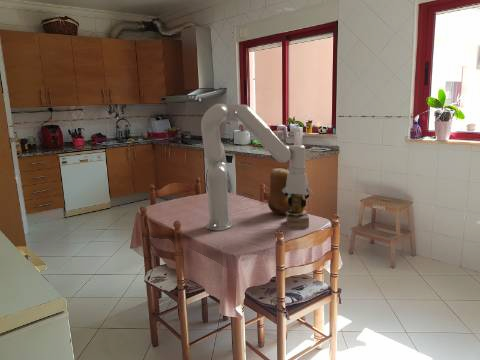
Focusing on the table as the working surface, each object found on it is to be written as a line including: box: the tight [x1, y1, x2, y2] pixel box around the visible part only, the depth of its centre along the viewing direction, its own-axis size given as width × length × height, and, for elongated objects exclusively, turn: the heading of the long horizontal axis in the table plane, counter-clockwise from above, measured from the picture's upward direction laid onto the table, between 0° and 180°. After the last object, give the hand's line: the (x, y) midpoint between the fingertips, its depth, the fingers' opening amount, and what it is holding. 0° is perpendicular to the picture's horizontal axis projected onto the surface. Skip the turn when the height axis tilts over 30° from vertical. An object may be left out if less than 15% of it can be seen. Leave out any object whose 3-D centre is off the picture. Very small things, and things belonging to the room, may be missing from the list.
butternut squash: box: [267, 168, 291, 216], centre depth 203 cm, size 14×13×25 cm
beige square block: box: [285, 212, 310, 229], centre depth 188 cm, size 10×10×5 cm
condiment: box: [286, 194, 308, 215], centre depth 186 cm, size 7×8×12 cm
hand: (297, 206), depth 187 cm, fingers closed on condiment, 6 cm apart
